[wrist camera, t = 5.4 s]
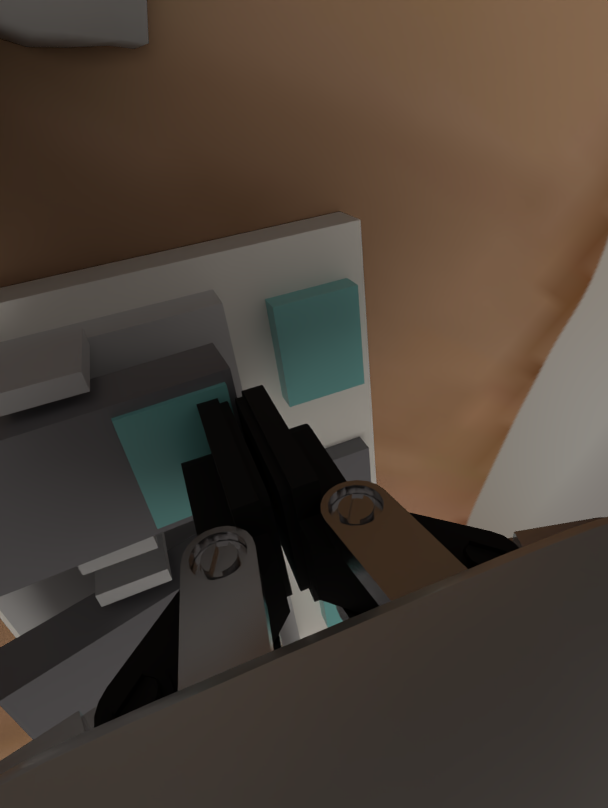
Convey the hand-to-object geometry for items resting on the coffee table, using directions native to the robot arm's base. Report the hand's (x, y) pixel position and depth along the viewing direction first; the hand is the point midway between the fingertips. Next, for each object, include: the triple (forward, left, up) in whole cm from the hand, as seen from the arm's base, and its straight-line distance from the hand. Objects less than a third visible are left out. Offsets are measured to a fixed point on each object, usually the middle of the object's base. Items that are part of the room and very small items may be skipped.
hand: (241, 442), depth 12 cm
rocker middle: (+6, -4, -1) cm, 7 cm away
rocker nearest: (0, -4, -1) cm, 4 cm away
